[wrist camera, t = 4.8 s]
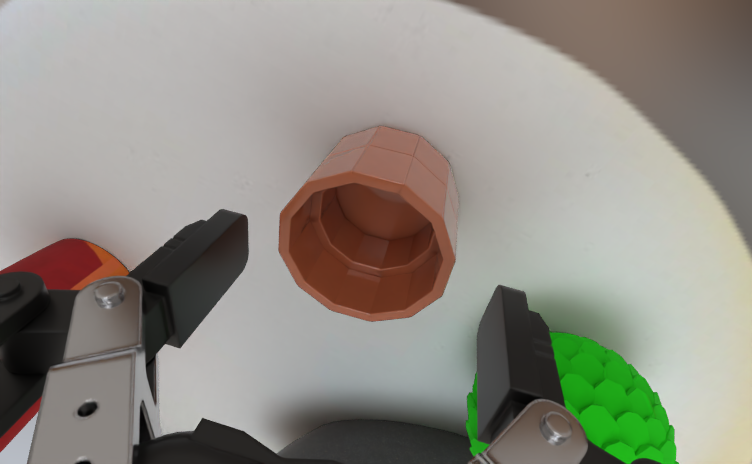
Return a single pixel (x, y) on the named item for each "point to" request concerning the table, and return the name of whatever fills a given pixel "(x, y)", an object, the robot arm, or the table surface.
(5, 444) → the coffee cup
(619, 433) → the ornament
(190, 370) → the table surface
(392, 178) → the small bowl
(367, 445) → the bowl
